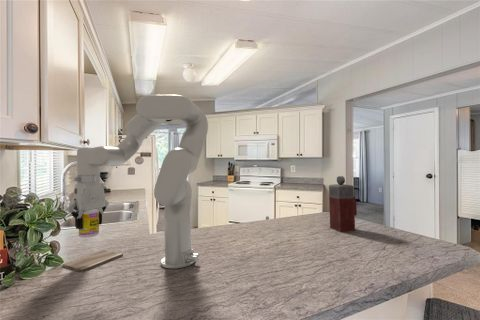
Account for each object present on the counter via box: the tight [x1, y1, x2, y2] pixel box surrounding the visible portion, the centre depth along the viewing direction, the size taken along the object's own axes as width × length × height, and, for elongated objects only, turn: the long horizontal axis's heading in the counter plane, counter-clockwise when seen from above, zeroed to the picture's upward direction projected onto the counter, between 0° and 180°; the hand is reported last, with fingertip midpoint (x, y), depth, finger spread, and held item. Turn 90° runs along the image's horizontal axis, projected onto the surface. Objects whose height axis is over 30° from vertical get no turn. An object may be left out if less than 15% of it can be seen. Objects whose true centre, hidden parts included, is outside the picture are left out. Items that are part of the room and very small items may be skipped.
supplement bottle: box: [78, 209, 100, 238], centre depth 94 cm, size 7×7×13 cm
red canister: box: [328, 175, 358, 233], centre depth 130 cm, size 9×11×28 cm
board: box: [62, 249, 124, 273], centre depth 94 cm, size 12×16×1 cm
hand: (89, 225), depth 94 cm, fingers closed on supplement bottle, 6 cm apart
